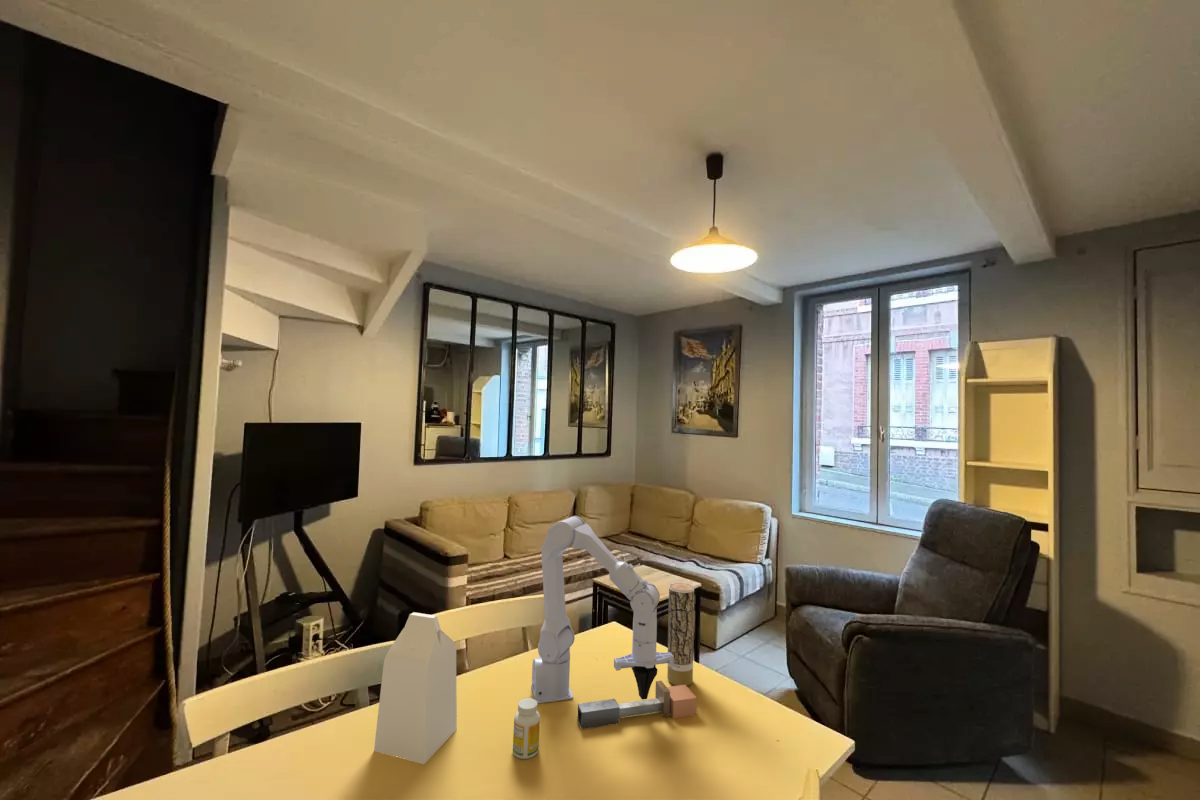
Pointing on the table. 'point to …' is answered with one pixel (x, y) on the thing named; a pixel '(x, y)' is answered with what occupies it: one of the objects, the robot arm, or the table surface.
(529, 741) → the supplement bottle
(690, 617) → the brown cylindrical piece
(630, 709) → the tube
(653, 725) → the table surface
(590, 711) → the sleeve
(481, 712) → the table surface
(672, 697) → the socket block
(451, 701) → the milk
